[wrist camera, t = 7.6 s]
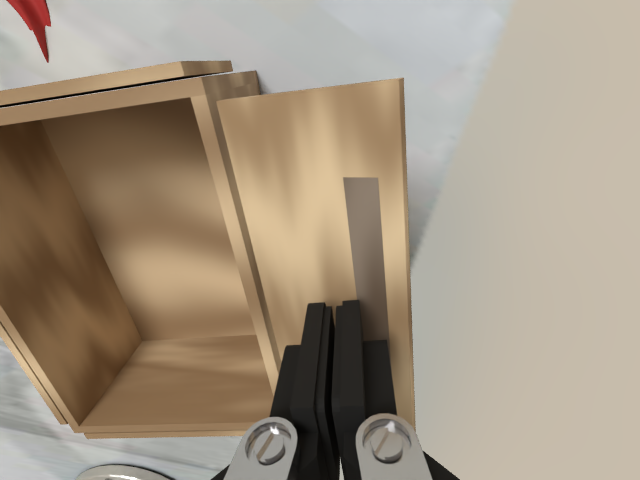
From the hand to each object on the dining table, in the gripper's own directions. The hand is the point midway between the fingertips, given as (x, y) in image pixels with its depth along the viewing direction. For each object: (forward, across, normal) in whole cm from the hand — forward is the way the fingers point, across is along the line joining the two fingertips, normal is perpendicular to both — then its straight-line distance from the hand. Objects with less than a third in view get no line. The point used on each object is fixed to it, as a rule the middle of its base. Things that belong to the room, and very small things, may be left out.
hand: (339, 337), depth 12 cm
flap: (+2, +3, 0) cm, 4 cm away
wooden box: (+10, +9, 0) cm, 13 cm away
